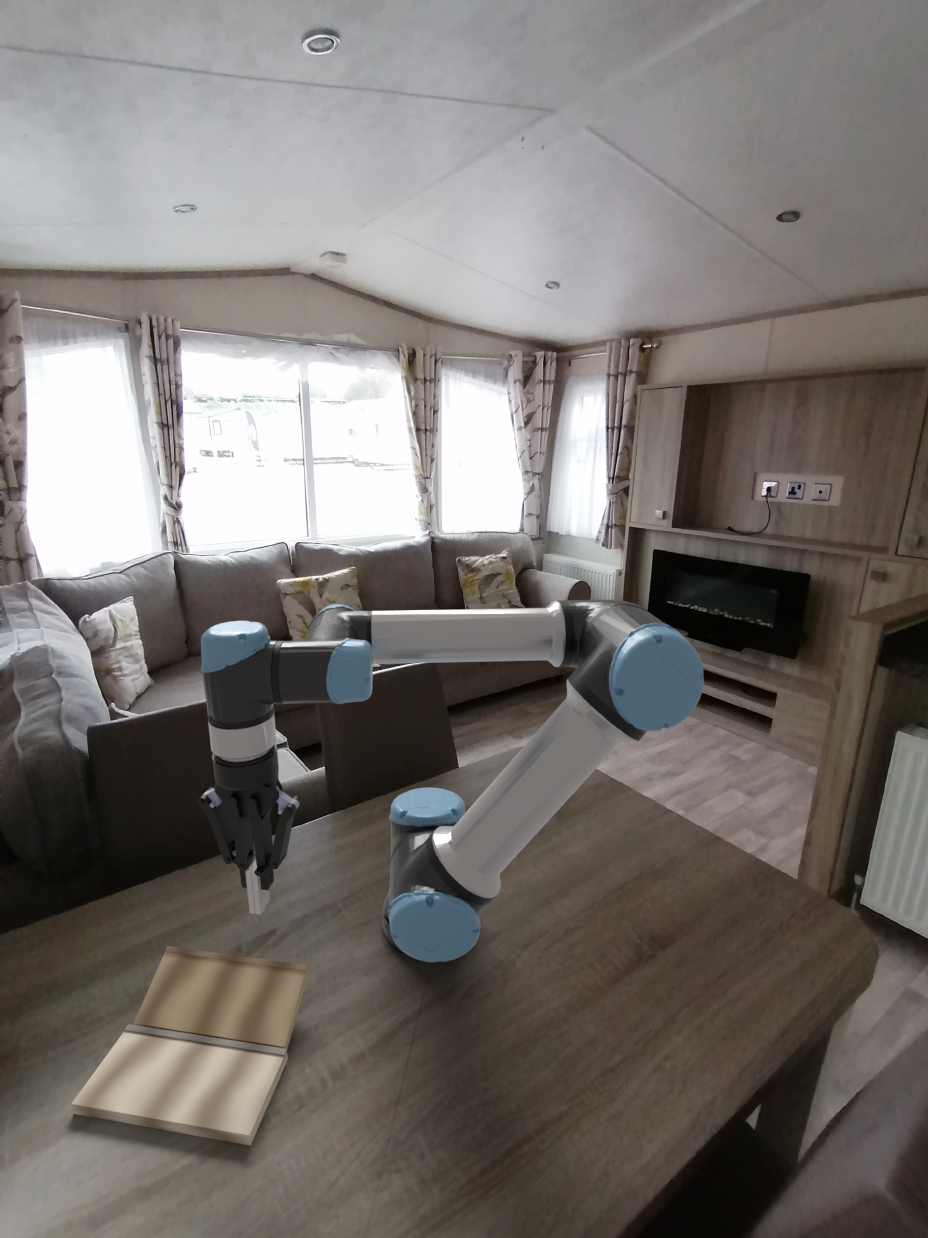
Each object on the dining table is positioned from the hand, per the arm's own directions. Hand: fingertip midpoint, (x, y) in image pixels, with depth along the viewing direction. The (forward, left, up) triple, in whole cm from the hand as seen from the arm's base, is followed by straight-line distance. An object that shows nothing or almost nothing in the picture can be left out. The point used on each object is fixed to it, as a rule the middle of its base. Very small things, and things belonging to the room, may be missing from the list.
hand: (260, 906), depth 81 cm
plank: (+5, +2, -14) cm, 15 cm away
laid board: (+5, +12, -16) cm, 21 cm away
